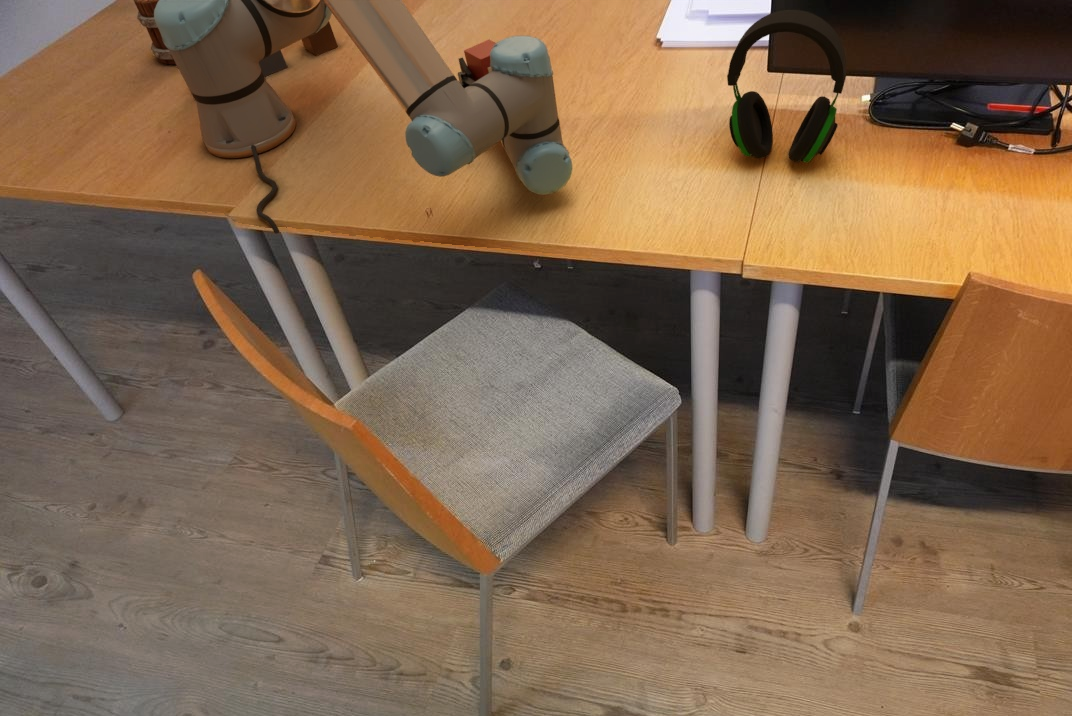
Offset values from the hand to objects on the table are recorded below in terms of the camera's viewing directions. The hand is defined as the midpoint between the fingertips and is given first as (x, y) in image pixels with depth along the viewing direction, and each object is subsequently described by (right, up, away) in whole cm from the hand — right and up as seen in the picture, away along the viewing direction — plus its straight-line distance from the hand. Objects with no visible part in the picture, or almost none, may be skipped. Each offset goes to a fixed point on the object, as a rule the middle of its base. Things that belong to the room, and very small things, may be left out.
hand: (482, 60), depth 130 cm
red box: (+2, -7, +1) cm, 8 cm away
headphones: (+46, -21, -16) cm, 53 cm away
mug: (-65, +16, +30) cm, 73 cm away
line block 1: (-44, +7, +20) cm, 49 cm away
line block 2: (-36, +13, +24) cm, 45 cm away
